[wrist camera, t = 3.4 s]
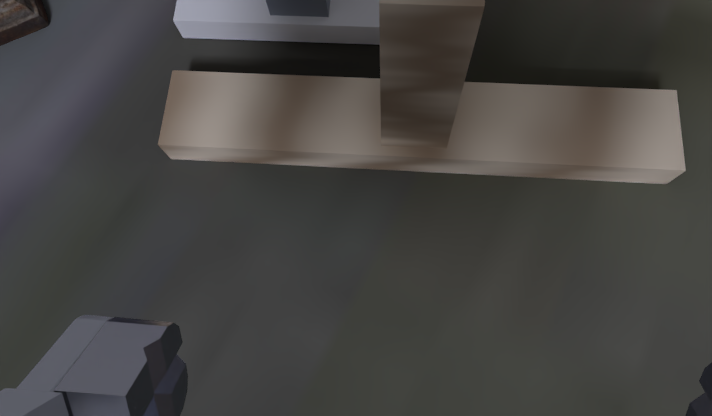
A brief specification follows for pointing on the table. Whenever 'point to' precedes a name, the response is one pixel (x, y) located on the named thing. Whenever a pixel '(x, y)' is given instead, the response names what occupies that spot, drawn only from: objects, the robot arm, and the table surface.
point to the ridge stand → (280, 20)
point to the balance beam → (425, 113)
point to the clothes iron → (21, 18)
